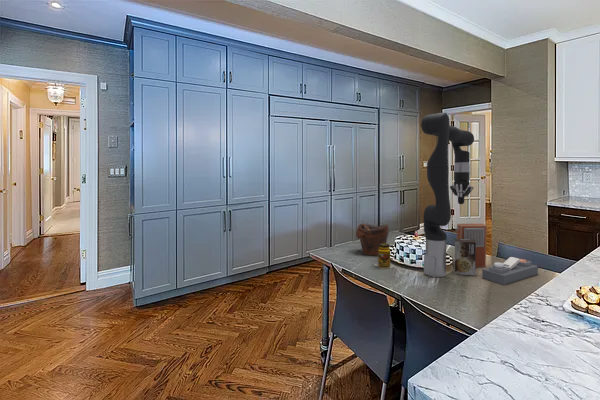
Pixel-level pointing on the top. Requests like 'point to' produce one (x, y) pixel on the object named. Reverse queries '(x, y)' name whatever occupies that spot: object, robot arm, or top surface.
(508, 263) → the rocker switch
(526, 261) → the terracotta button
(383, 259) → the condiment
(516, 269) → the switch console
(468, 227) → the red upright rectangular box
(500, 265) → the grey button
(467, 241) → the cookie box
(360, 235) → the brown plant pot
